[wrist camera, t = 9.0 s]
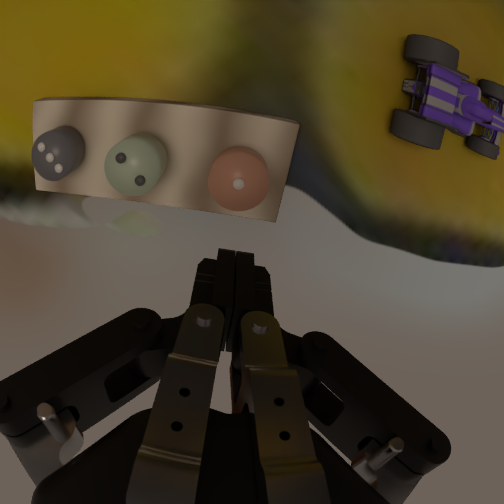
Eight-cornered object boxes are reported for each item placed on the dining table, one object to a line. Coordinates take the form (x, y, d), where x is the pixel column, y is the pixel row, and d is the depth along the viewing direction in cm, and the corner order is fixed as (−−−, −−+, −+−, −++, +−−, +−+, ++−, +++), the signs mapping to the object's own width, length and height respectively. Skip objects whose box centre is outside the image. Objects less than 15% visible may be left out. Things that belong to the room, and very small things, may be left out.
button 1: (273, 151, 23) (275, 160, 21) (261, 202, 26) (262, 216, 24) (215, 141, 23) (212, 150, 21) (207, 194, 25) (203, 207, 23)
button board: (296, 120, 25) (299, 124, 24) (274, 212, 30) (275, 222, 28) (44, 97, 23) (33, 101, 21) (46, 182, 28) (36, 189, 26)
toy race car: (490, 163, 27) (526, 187, 22) (381, 129, 26) (413, 147, 20) (508, 87, 22) (548, 99, 16) (398, 34, 21) (435, 30, 15)
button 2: (169, 135, 23) (161, 143, 20) (164, 188, 25) (156, 200, 23) (116, 131, 22) (103, 138, 20) (115, 182, 24) (103, 194, 22)
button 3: (85, 126, 23) (70, 132, 21) (84, 173, 25) (71, 184, 23) (45, 125, 22) (29, 132, 20) (46, 170, 25) (32, 180, 22)
